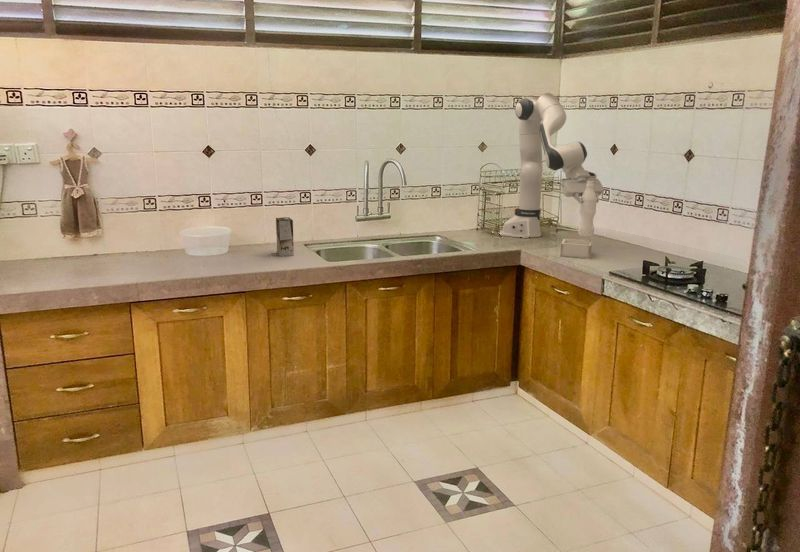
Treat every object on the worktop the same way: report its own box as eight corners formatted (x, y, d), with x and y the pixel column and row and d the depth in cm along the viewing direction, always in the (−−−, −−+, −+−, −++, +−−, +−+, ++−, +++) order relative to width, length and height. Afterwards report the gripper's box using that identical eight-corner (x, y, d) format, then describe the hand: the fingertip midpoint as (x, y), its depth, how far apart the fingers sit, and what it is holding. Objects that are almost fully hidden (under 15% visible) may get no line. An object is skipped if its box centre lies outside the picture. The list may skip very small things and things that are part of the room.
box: (560, 256, 292) (561, 243, 291) (562, 250, 304) (563, 238, 303) (589, 258, 288) (590, 245, 287) (591, 253, 300) (592, 240, 299)
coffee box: (294, 255, 288) (293, 220, 284) (280, 256, 286) (278, 220, 282) (290, 251, 296) (289, 216, 292) (276, 252, 294) (275, 217, 290)
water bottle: (594, 234, 297) (598, 180, 291) (593, 237, 291) (598, 181, 285) (577, 233, 299) (582, 179, 293) (577, 236, 293) (581, 181, 287)
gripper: (562, 174, 291) (573, 198, 284) (598, 173, 298) (610, 197, 292) (555, 183, 296) (566, 207, 289) (591, 182, 303) (603, 205, 297)
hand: (589, 202), depth 291 cm, fingers closed on water bottle, 7 cm apart
